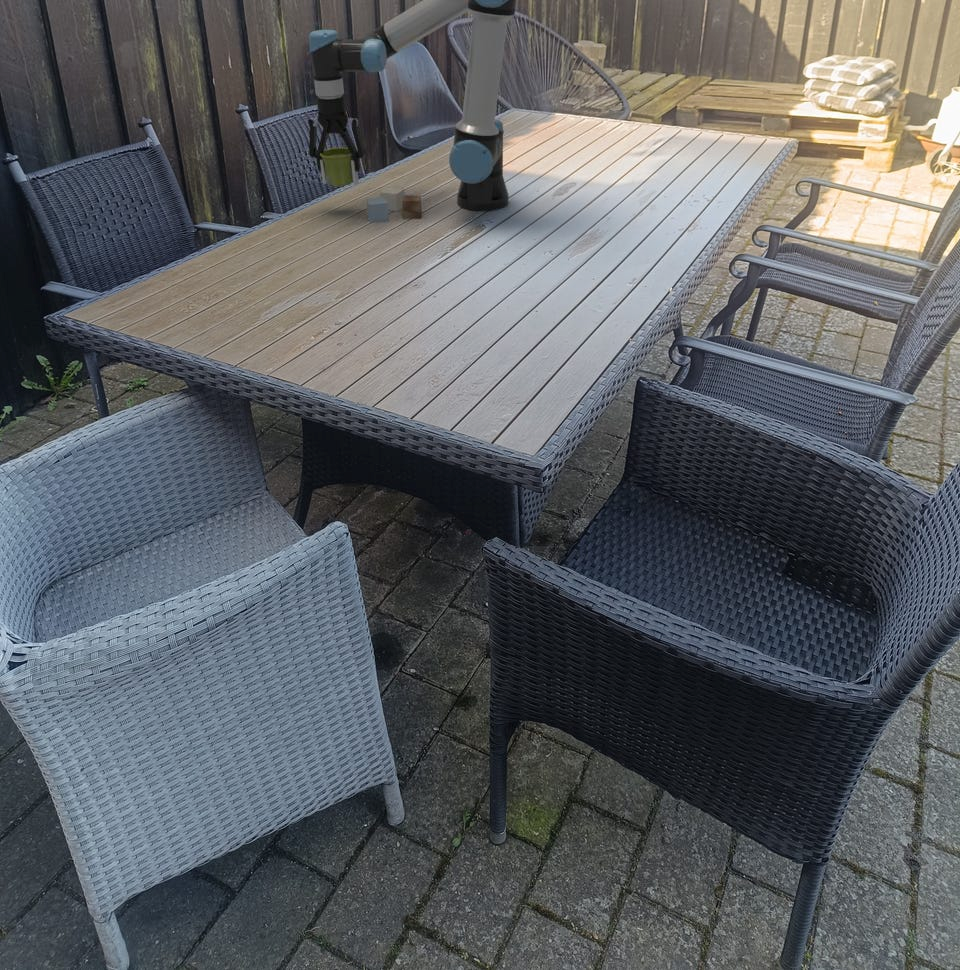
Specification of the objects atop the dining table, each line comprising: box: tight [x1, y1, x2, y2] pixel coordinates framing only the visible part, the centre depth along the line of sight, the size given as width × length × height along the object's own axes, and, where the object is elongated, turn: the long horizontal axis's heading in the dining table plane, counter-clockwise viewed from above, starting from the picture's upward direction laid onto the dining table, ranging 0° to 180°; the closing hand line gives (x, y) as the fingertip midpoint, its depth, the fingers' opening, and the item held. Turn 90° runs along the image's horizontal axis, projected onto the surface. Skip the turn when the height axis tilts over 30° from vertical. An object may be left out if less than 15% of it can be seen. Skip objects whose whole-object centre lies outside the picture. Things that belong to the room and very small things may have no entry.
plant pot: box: [320, 147, 353, 188], centre depth 236 cm, size 9×9×9 cm
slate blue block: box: [365, 197, 389, 223], centre depth 236 cm, size 5×5×5 cm
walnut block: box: [402, 194, 423, 220], centre depth 238 cm, size 5×5×5 cm
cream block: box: [380, 187, 406, 212], centre depth 243 cm, size 5×5×5 cm
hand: (340, 182), depth 238 cm, fingers closed on plant pot, 8 cm apart
